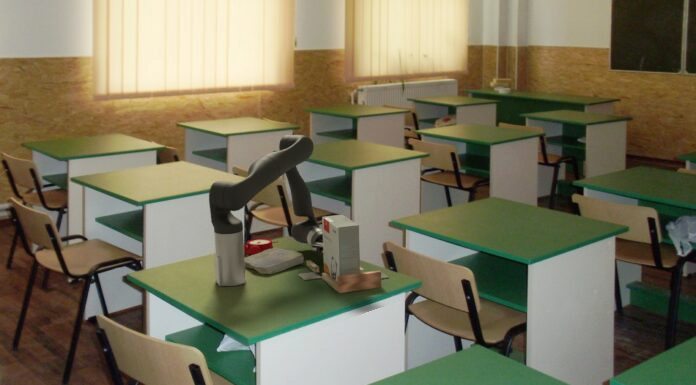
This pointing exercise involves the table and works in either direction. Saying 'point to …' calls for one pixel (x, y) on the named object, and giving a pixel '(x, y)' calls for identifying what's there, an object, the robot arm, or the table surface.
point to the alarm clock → (258, 245)
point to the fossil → (273, 260)
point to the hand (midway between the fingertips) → (338, 252)
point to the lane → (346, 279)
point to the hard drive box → (340, 246)
